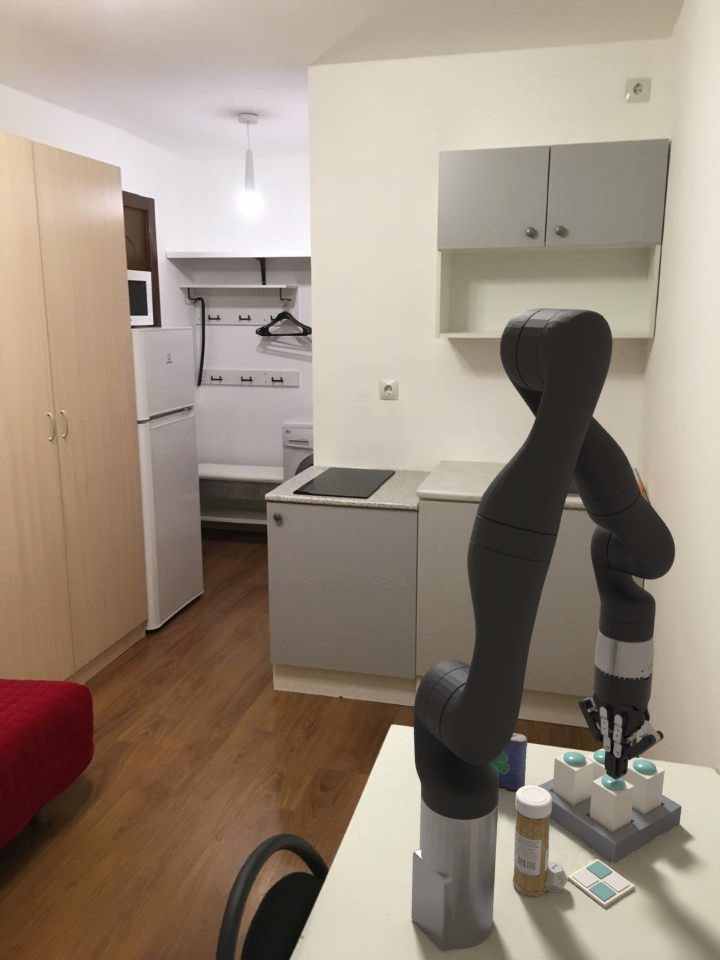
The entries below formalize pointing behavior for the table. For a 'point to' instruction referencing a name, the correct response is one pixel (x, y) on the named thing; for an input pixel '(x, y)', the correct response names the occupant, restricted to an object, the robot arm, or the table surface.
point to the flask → (512, 764)
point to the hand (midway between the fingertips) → (615, 775)
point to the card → (601, 882)
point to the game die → (555, 877)
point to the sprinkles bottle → (531, 840)
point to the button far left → (598, 763)
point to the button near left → (573, 777)
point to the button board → (623, 839)
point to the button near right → (611, 802)
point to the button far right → (645, 785)
